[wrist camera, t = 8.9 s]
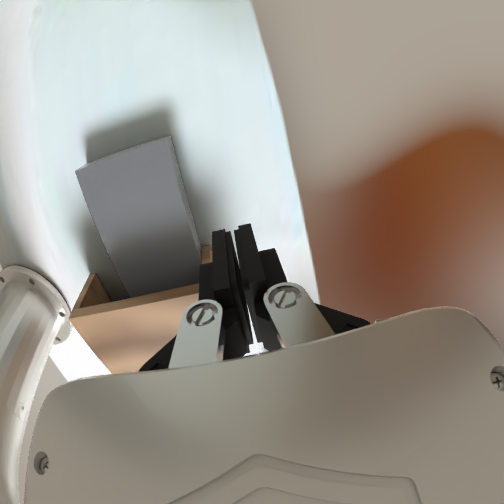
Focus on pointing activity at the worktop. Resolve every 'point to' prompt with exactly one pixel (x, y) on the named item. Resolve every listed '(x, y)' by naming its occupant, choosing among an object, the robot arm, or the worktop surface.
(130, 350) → the open wooden box
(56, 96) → the worktop surface
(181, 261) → the board
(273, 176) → the worktop surface
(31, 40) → the worktop surface
